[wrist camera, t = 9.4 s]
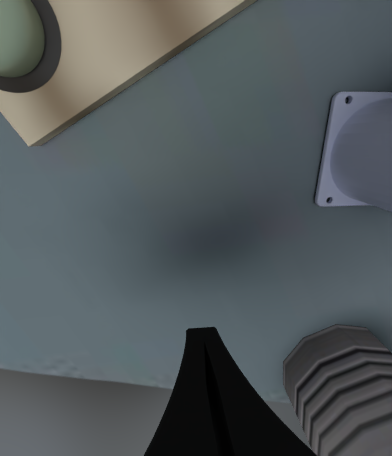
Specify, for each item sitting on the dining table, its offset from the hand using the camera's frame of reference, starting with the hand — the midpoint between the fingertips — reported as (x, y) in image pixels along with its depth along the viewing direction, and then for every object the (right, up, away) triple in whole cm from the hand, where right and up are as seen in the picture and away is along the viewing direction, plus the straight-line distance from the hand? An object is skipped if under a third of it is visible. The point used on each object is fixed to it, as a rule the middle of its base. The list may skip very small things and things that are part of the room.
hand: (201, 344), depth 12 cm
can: (+14, -9, +15) cm, 23 cm away
